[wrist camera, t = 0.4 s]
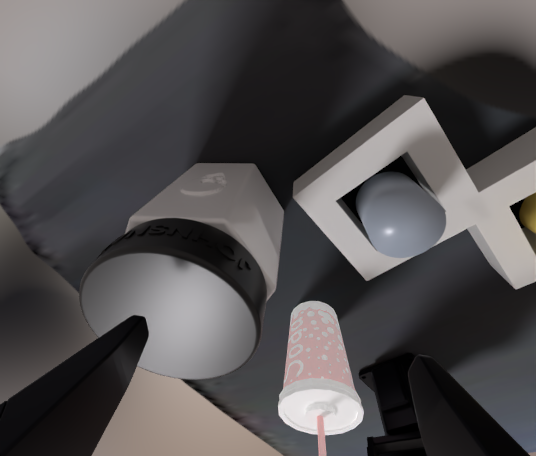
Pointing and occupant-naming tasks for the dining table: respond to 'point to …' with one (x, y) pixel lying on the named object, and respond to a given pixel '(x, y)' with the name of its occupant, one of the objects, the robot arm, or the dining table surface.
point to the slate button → (399, 215)
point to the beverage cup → (318, 376)
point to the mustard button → (529, 212)
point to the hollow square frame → (507, 209)
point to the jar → (193, 271)
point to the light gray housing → (373, 160)
